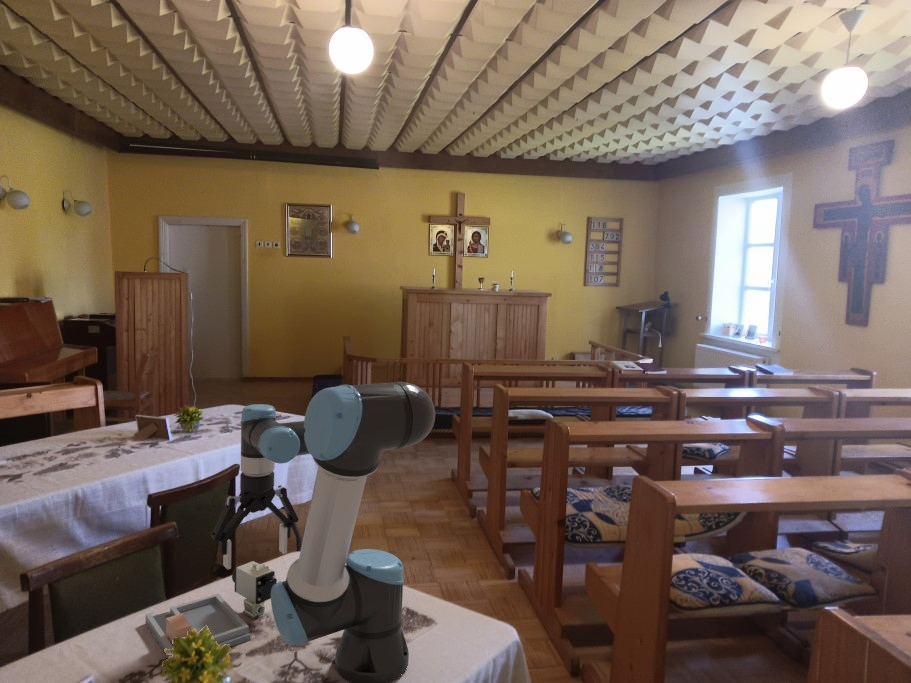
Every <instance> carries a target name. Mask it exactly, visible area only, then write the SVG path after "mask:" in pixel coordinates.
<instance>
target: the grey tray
mask: <svg viewBox="0 0 911 683" xmlns="http://www.w3.org/2000/svg"><path fill="white" fill-rule="evenodd" d="M178 614H183V615H184V616H185V618H186V619H187V620H188V622H189V623H190V624H191V628H195V629H196V630H197V632H199V631H200V630H201V629H202V628H203V627H204V626H205V625H207V626H208V628H209V630H210V632H211V633H212V634H213V637H214V639H215V640H216V641H217V643H218V644H219V645H224V644H230V645H231V647H233V646H237V645H239V644H242V643H245V642H248V641H251V633H249V632H250V631H249V630H250V629H249V628H250V627H249V625H248V624H247V623H246V622H245V621H244V620H243V618H241V616H240V615H239V614H238V613H237V612H236V611H235V610H234V609H233V608H232V607H231V605H230V604H228V603H227V601H226V600H225V599H224V598H223V597H222V596H221V594H220V593H215V594H212V595H209V596H206V597H205V596H204V597H203V598H199V599H194V600H192V601H188V602H184V603H181V604H178V605H174V606H171V607H170V608H169V611H165V612H162V613H160V614H159V613H158V614H155V615H153V614H152V613H151V612H148V613H146V614H145V625H146V626H148V627H147V628H148V629H149V631H150V633H151V634H152V635H153V637H154V639H155V640H156V642H157V644H158V645H159V647H160V648H161V650H162V651H163V649H165V648H167V649H172V648H173V646H172V644H171V643H170V641H169V640H168V638H167V637H166V618H168V617H172V616H175V615H178ZM169 656H172V655H166V654H165V657H166V658H168V657H169Z"/></svg>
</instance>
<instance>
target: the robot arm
mask: <svg viewBox="0 0 911 683" xmlns="http://www.w3.org/2000/svg"><path fill="white" fill-rule="evenodd" d="M432 400H433V399H432V398H431V397H430V396H429V394H428V392H426V391H425V390H423V389H422V388H421V387H419V386H417V385H416V384H413V383H410V382H405V381H392V382H382V383H369V384H355V385H351V384H340V385H337V386H331V387H325V388H323V389H321V390H319V391H318V392H316V394H314V396H313V397H312V398H311V399H310V401H309V403H308V405H307V408H306V411H305V413H304V414H305V415H304V420H299V421H289V422H278V421H277V420H276V419H277V413H276V408H275V407H274V406H273V405H270V404H263V403H260V404H259V403H258V404H257V403H256V404H249V405H246V406H245V407H243V408H242V410H241V418H240V419H241V420H240V471H241V473H240V475H239V476H240V477H239V478H240V480H239V481H240V482H239V484H240V486H239V490H240V493H239V495H238V496H237V495H236V496H231V495H230V494H229V495H227V496H225V503H224V506H223V509H222V510H221V511H222V512H221V513H220V515H219V518H218V520H217V521H216V524H215V525H214V528H213V529H212V532H211V534H210V537H211V538H212V539H213V540H214V542H219V553H220V555H221V556H222V558H223V560H222V562H223V563H222V565H223V567H225V569H226V570H230V569H232V540H231V539H230V538H231V537H232V535H233V534H234V532H235V531H236V530H237V529H238V527H240V524H241V523H242V522H243V520H244V519H245V518H247V517H248V515H249V514H250V513H251V514H254V513H257V512H259V511H260V512H263V511H266V509H269V511H271V513H272V514H274V515H275V516H276V518H277V519H278V520H280V521H281V523H282V524H281V523H280V524H279V528H278V529H279V533H278V538H279V539H278V540H279V541H278V551H279V552H281V553H282V554H283V555H286V554H288V539H290V538H291V534H292V533H291V532H292V530H291V529H292V527H294V523H298V522H299V517H298V515H297V513H296V511H295V509H294V506H293V505H292V503H291V501H290V499H289V497H288V490H287V488H286V487H284V486H282V485H280V484H279V485H278V486H277V487H276V488H275V472H274V471H275V469H276V468H275V463H276V464H280V465H281V464H287V463H289V462H290V461H292V460H293V459H295V458H296V457H297V456H299V457H300V456H306V455H311V457H312V460H313V462H314V463H315V464H316V466H317V471H316V476H315V482H314V484H313V489H312V495H311V500H310V503H309V504H310V505H309V510H308V514H307V519H306V522H305V529H304V534H303V538H302V542H301V547H300V552H299V557H298V558H297V559H295V561H293V562H292V564H291V565H290V566H289V568H288V570H287V573H286V579H285V580H284V581H277V583H276V584H274V585H273V587H272V589H271V599H270V604H271V610H272V615H273V619H274V622H275V625H276V628H277V631H278V634H280V637H281V639H282V640H283V642H285V643H286V644H287V645H289V646H296V645H301V644H304V643H306V644H308V643H309V642H312V641H315V640H318V639H320V638H323V637H327V636H329V635H332V634H336V633H339V632H341V631H343V633H342V635H341V638H340V642H339V644H338V646H337V649H336V652H335V660H334V661H335V664H334V667H335V670H336V673H337V674H338V676H340V677H341V678H342V679H343V680H345V681H347V682H349V683H391V682H393V681H395V680H397V679H399V678H400V677H401V676H402V675H404V673H405V672H406V671H407V669H408V667H409V661H410V660H409V658H410V657H409V655H410V654H409V647H408V645H407V642H406V638H405V634H404V631H403V628H402V620H403V619H402V617H403V594H404V593H403V590H404V582H405V579H404V566H403V563H402V561H401V560H400V559H399V557H397V556H396V555H394V554H392V553H391V552H387V551H384V550H380V549H374V548H373V549H372V548H363V549H356V550H353V551H351V552H350V553H349V550H350V547H351V542H352V538H353V534H354V530H355V526H356V523H357V522H356V521H357V518H358V514H359V510H360V506H361V502H362V497H363V494H364V490H365V486H366V483H367V478H368V477H369V476H371V475H372V474H374V473H375V472H376V471H377V469H379V466H380V462H381V458H382V454H383V453H384V452H387V451H392V450H399V449H405V448H409V447H412V446H414V445H416V444H419V443H420V442H422V441H423V440H424V439H425V438H427V437H428V435H429V434H431V431H432V429H433V427H434V425H435V422H436V421H435V420H436V408H435V405H434V402H433V401H432ZM275 496H277V497H278V498H279V500H280V502H281V505H283V508H284V510H285V512H286V514H287V516H288V517H287V516H286V515H285V514H283V513H282V511H281V510H280V509H279V508H278V507H277V506H276V505H275V504H274V503H273V502H272V501H273V499H274V498H275ZM239 503H240V504H239ZM238 504H239V506H238V507H237V505H238ZM235 507H237V510H236V512H234V510H235ZM233 513H234V514H233ZM232 515H233V516H232ZM407 666H408V667H407ZM406 668H407V669H406ZM405 670H406V671H405ZM404 671H405V672H404ZM403 672H404V673H403ZM401 674H402V675H401ZM398 677H399V678H398Z"/></svg>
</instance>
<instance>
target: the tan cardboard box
mask: <svg viewBox="0 0 911 683" xmlns="http://www.w3.org/2000/svg"><path fill="white" fill-rule="evenodd" d="M190 628H191V624H190V623H189V622H188V620H187V619H186V618H185V616H184V615H183V614H178V615H175V616H172V617H168V618H166V637H167V638H168V640H169V641H170V643H171V644H172V639H173V638H175V637H186V636H187V631H188V629H190ZM172 646H173V644H172Z"/></svg>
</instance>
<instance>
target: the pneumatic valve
mask: <svg viewBox="0 0 911 683" xmlns="http://www.w3.org/2000/svg"><path fill="white" fill-rule="evenodd" d="M275 573H276V572H275V571H274V570H272V569H270V567H269V566H268V565H266V564H260V563H259V562H255V561H254V560H252V559H251V560H248V561H246V562H243V563H241V564H238V565H236V566H234V570H233V571H232V575H231V580H232V582H233V583H234V592H235V593H237V594H238V595H240V596H242V597H244V598H245V599H244V600H243V607H244V609H243V613H244V614H245V615H247V616H249V617H250V618H252V619H254V618H256V617H257V616H261V615H263V614H264V613H265V609H266V607H265V605H264V604H265V602H266V601H268V600H271V589H272V587H273V585H274V584H276V583H278V579H277V578H275V577H276V575H275Z"/></svg>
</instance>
